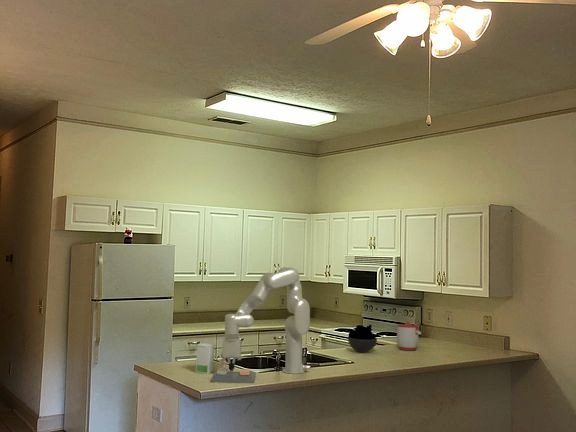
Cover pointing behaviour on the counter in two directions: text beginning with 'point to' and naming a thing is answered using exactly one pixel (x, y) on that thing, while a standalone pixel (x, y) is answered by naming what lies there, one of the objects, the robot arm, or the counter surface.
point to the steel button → (222, 371)
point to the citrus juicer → (407, 336)
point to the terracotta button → (245, 372)
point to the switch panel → (234, 377)
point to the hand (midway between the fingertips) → (231, 370)
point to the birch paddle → (222, 364)
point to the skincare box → (205, 358)
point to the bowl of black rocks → (362, 339)
